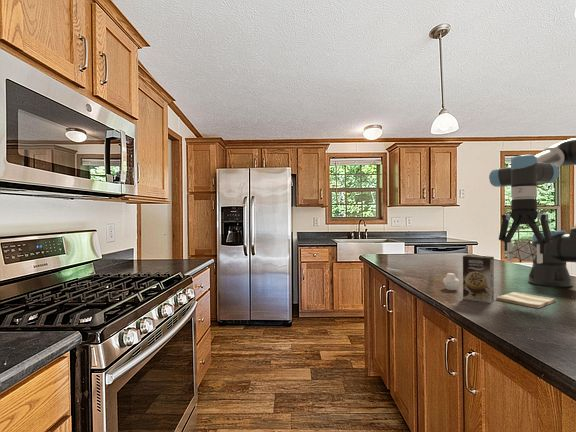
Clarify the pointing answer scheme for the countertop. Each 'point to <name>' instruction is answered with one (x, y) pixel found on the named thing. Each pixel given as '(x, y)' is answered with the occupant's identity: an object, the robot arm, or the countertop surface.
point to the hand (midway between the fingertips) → (524, 261)
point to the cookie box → (478, 278)
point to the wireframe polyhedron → (524, 251)
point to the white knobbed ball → (451, 281)
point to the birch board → (526, 299)
